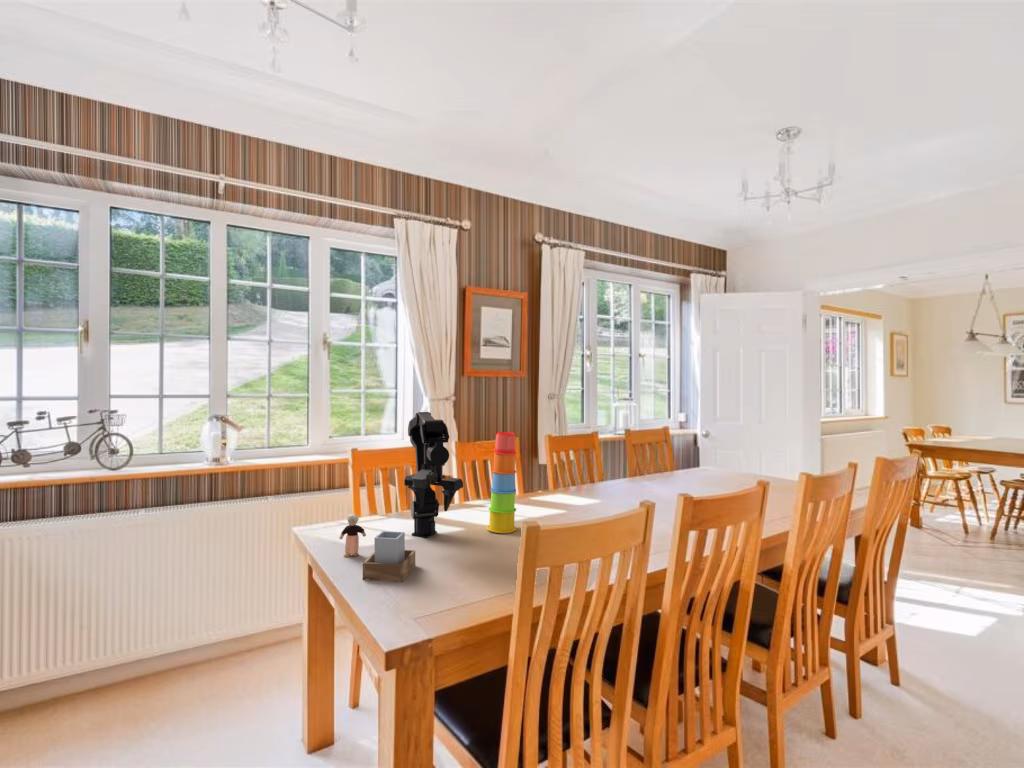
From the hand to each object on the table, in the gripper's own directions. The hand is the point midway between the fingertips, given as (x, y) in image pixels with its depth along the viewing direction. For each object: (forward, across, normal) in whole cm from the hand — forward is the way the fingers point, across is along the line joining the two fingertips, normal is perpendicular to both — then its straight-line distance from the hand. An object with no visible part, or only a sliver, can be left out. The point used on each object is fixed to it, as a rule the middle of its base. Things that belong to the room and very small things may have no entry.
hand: (433, 509), depth 160 cm
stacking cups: (+13, +10, +28) cm, 33 cm away
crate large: (+13, -1, -20) cm, 24 cm away
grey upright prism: (+12, -1, -20) cm, 24 cm away
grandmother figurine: (+13, -20, -14) cm, 28 cm away
